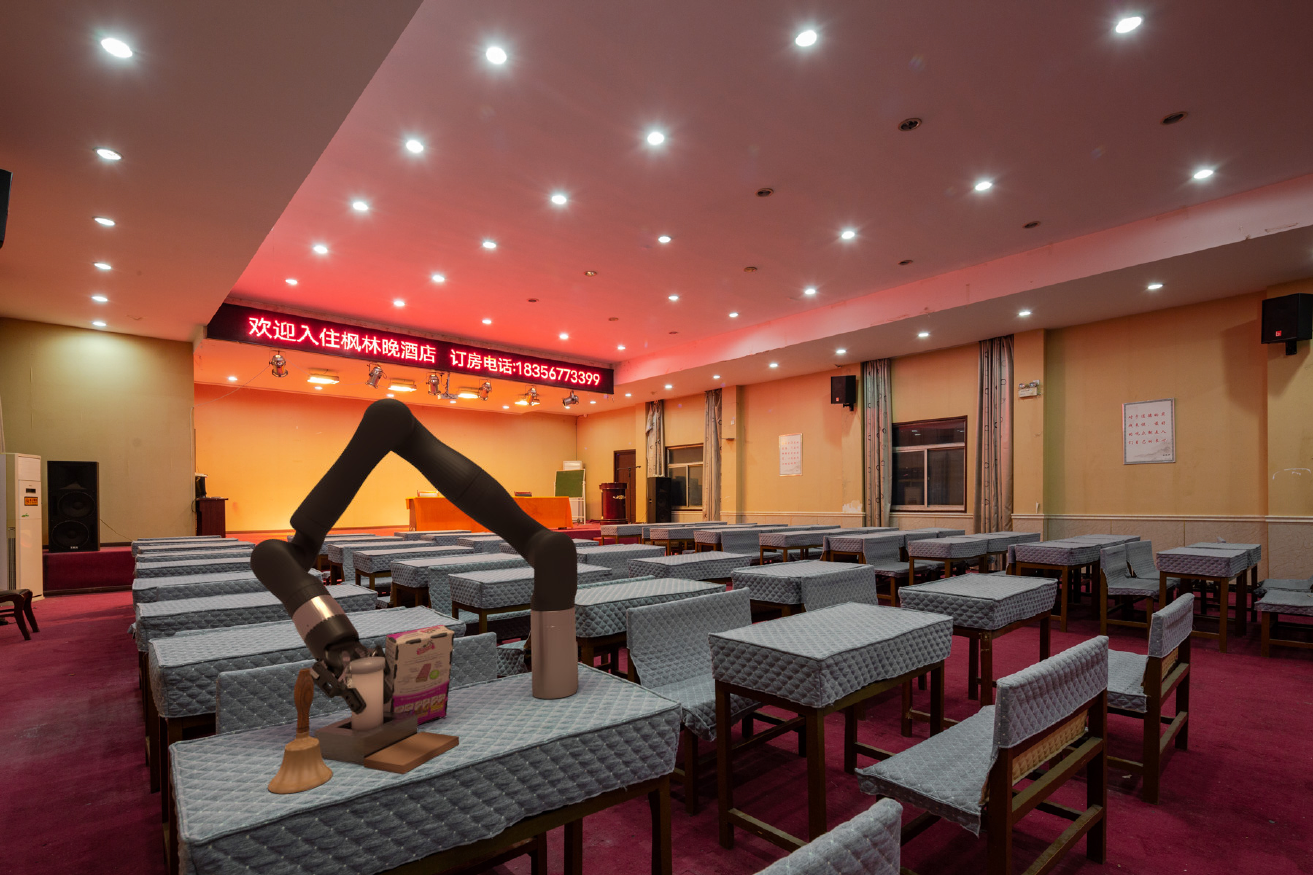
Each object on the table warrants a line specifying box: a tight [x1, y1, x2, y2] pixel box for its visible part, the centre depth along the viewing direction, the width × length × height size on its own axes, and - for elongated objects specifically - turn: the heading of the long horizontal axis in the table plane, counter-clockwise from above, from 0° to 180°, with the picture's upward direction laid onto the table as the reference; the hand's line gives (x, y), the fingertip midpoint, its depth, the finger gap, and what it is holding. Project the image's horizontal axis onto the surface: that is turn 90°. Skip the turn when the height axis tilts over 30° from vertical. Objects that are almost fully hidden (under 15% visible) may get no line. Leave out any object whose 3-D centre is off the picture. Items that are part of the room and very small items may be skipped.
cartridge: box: [350, 657, 385, 732], centre depth 105 cm, size 5×5×14 cm
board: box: [363, 731, 460, 775], centre depth 100 cm, size 12×8×1 cm, turn 156°
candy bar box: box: [383, 624, 455, 726], centre depth 115 cm, size 11×5×16 cm, turn 138°
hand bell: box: [267, 667, 334, 795], centre depth 93 cm, size 8×8×16 cm
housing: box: [313, 711, 418, 766], centre depth 104 cm, size 11×11×4 cm
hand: (375, 704), depth 104 cm, fingers closed on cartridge, 4 cm apart
